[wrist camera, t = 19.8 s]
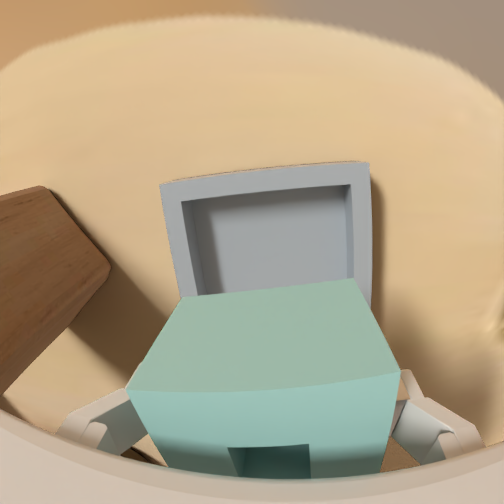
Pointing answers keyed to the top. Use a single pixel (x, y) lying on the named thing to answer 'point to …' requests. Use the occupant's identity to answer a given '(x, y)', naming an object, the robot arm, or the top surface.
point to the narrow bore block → (270, 384)
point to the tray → (271, 228)
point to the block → (40, 276)
